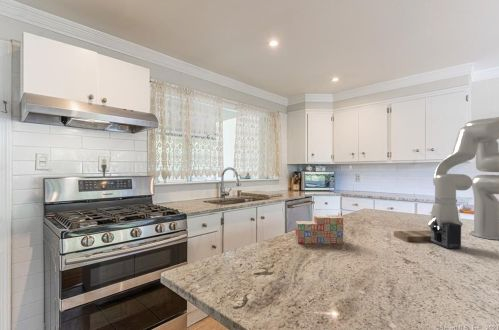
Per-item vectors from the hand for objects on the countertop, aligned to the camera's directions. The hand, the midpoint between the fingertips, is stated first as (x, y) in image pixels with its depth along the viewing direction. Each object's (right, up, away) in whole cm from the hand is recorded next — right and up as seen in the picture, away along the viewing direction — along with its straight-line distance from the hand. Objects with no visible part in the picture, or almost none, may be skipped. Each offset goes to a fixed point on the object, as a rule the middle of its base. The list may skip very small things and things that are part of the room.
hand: (445, 240), depth 114 cm
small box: (0, -2, 0) cm, 2 cm away
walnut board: (-5, -2, +11) cm, 12 cm away
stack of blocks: (-56, -2, +6) cm, 56 cm away
